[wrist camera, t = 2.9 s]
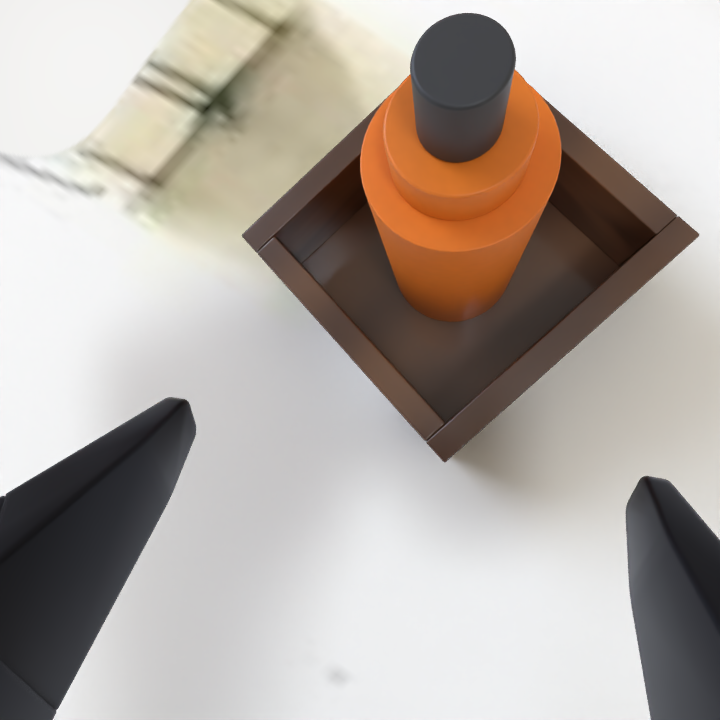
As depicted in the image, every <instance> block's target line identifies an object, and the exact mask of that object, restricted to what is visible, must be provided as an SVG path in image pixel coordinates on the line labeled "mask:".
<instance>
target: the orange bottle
mask: <svg viewBox="0 0 720 720" xmlns="http://www.w3.org/2000/svg"><path fill="white" fill-rule="evenodd" d="M515 62H516V54H515V48H514V45H513V42H512V40H511V38H510V36H509V34H508V33H507V31H506V30H505V29H504V28H503V27H502V26H501V25H500V24H499V23H498V22H496V21H495V20H493V19H491V18H489V17H487V16H484V15H480V14H474V13H462V14H456V15H452V16H449V17H446V18H444V19H442V20H440V21H438V22H437V23H435V24H434V25H432V26H431V27H430V28H429V29H428V30H427V31H426V32H425V33H424V34H423V35H422V36H421V38H420V39H419V41H418V43H417V44H416V46H415V48H414V51H413V54H412V57H411V64H410V72H411V74H410V75H409V76H408V77H407V78H406V79H405V80H404V81H403V82H402V83H401V85H400V86H399V87H398V89H396V90H395V91H394V92H393V93H392V94H391V95H390V96H389V97H388V98H387V99H386V100H385V101H384V102H383V103H382V105H381V106H380V108H379V109H378V110H377V112H376V113H375V115H374V117H373V118H372V120H371V122H370V124H369V126H368V129H367V131H366V134H365V136H364V140H363V144H362V149H361V157H360V172H361V179H362V184H363V188H364V191H365V195H366V197H367V200H368V203H369V206H370V208H371V211H372V214H373V217H374V220H375V222H376V225H377V228H378V231H379V234H380V236H381V239H382V242H383V245H384V248H385V250H386V253H387V256H388V259H389V261H390V264H391V267H392V270H393V273H394V275H395V278H396V281H397V284H398V286H399V289H400V291H401V293H402V295H403V296H404V298H405V299H406V300H407V302H408V303H409V304H410V305H411V306H412V307H413V308H414V309H416V310H417V311H418V312H420V313H421V314H423V315H425V316H427V317H429V318H432V319H435V320H439V321H446V322H458V321H464V320H468V319H472V318H474V317H477V316H479V315H481V314H482V313H484V312H486V311H487V310H489V309H490V308H491V307H492V306H493V305H494V304H495V303H496V302H497V301H498V300H499V299H500V298H501V296H502V295H503V293H504V291H505V290H506V288H507V286H508V284H509V282H510V279H511V277H512V275H513V273H514V271H515V269H516V267H517V265H518V263H519V261H520V259H521V256H522V254H523V252H524V250H525V248H526V246H527V244H528V242H529V240H530V238H531V235H532V233H533V231H534V229H535V227H536V225H537V223H538V221H539V219H540V217H541V215H542V212H543V210H544V208H545V206H546V204H547V202H548V200H549V198H550V196H551V194H552V192H553V189H554V186H555V184H556V181H557V178H558V174H559V170H560V165H561V139H560V134H559V130H558V126H557V124H556V121H555V118H554V116H553V114H552V112H551V110H550V108H549V107H548V105H547V104H546V102H545V101H544V99H543V98H542V97H541V95H540V94H539V93H538V92H537V91H536V90H535V89H534V88H533V87H532V86H530V85H529V84H528V83H527V82H526V81H525V80H524V78H523V77H522V76H521V75H520V74H519V73H518V72H517V71H516V70H515Z"/></svg>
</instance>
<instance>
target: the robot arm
mask: <svg viewBox="0 0 720 720" xmlns="http://www.w3.org/2000/svg"><path fill="white" fill-rule="evenodd" d="M195 435H196V424H195V421H194V417H193V414H192V411H191V407H190V404H189V402H188V401H187V400H185V399H179V398H173V397H169V398H166V399H164V400H162V401H160V402H159V403H157V404H155V405H154V406H152V407H150V408H149V409H147V410H145V411H144V412H142V413H140V414H139V415H137V416H135V417H134V418H132V419H130V420H129V421H127V422H125V423H124V424H122V425H120V426H119V427H117V428H115V429H114V430H112V431H110V432H109V433H107V434H105V435H104V436H102V437H100V438H99V439H97V440H95V441H94V442H92V443H90V444H89V445H87V446H85V447H84V448H82V449H80V450H78V451H77V452H75V453H73V454H72V455H70V456H68V457H67V458H65V459H63V460H62V461H60V462H58V463H57V464H55V465H53V466H52V467H50V468H48V469H47V470H45V471H43V472H42V473H40V474H38V475H37V476H35V477H33V478H32V479H30V480H28V481H27V482H25V483H23V484H22V485H20V486H18V487H17V488H15V489H13V490H12V491H10V492H8V493H7V494H6V496H1V497H0V720H53V718H54V716H55V714H56V710H57V709H58V708H59V706H60V704H61V702H62V700H63V698H64V697H65V695H66V693H67V691H68V689H69V687H70V685H71V683H72V682H73V680H74V678H75V676H76V674H77V672H78V670H79V668H80V667H81V665H82V663H83V661H84V659H85V657H86V655H87V653H88V652H89V650H90V648H91V646H92V644H93V642H94V640H95V638H96V637H97V635H98V633H99V631H100V629H101V627H102V625H103V623H104V622H105V620H106V618H107V616H108V614H109V612H110V610H111V609H112V607H113V605H114V603H115V601H116V599H117V597H118V595H119V594H120V592H121V590H122V588H123V586H124V584H125V582H126V580H127V579H128V577H129V575H130V573H131V571H132V569H133V567H134V565H135V564H136V562H137V560H138V558H139V556H140V554H141V552H142V550H143V549H144V547H145V545H146V543H147V541H148V539H149V537H150V536H151V534H152V532H153V530H154V528H155V526H156V524H157V522H158V521H159V519H160V517H161V515H162V513H163V511H164V509H165V507H166V505H167V503H168V501H169V499H170V497H171V495H172V493H173V490H174V488H175V485H176V483H177V480H178V478H179V475H180V473H181V470H182V468H183V465H184V463H185V460H186V458H187V455H188V453H189V451H190V448H191V446H192V443H193V441H194V438H195ZM626 532H627V552H628V573H629V589H630V598H631V605H632V611H633V617H634V623H635V629H636V635H637V641H638V646H639V652H640V658H641V664H642V670H643V676H644V682H645V687H646V693H647V699H648V705H649V711H650V717H651V720H720V540H719V539H718V537H717V536H716V535H715V534H714V533H713V532H712V530H711V529H710V528H709V527H708V526H707V525H706V523H705V522H704V521H703V520H702V519H701V517H700V516H699V515H698V514H697V513H696V512H695V510H694V509H693V508H692V507H691V506H690V504H689V503H688V502H687V501H686V500H685V499H684V497H683V496H682V495H681V494H680V493H679V492H678V490H677V489H676V488H675V487H674V486H673V484H672V483H671V482H669V481H668V480H666V479H662V478H655V477H649V476H644V477H642V478H641V479H640V480H639V482H638V484H637V486H636V488H635V490H634V491H633V493H632V495H631V497H630V499H629V501H628V503H627V507H626Z"/></svg>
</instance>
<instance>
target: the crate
mask: <svg viewBox="0 0 720 720" xmlns="http://www.w3.org/2000/svg"><path fill="white" fill-rule="evenodd" d="M397 89H398V88H397ZM391 94H392V93H391ZM391 94H390V95H391ZM390 95H389V96H390ZM389 96H388V97H389ZM388 97H387V98H388ZM541 97H542V96H541ZM387 98H386V99H387ZM542 98H543V97H542ZM386 99H385V100H386ZM543 99H544V98H543ZM385 100H384V101H385ZM384 101H383V102H384ZM544 101H545V102H546V104H547V105H548V107H549V108H550V110H551V112H552V114H553V116H554V118H555V121H556V124H557V126H558V130H559V134H560V139H561V165H560V170H559V174H558V178H557V181H556V184H555V186H554V189H553V192H552V194H551V196H550V198H549V200H548V202H547V204H546V206H545V208H544V210H543V212H542V215H541V217H540V219H539V221H538V223H537V225H536V227H535V229H534V231H533V233H532V235H531V238H530V240H529V242H528V244H527V246H526V248H525V250H524V252H523V254H522V256H521V259H520V261H519V263H518V265H517V267H516V269H515V271H514V273H513V275H512V277H511V279H510V282H509V284H508V286H507V288H506V290H505V291H504V293H503V295H502V296H501V298H500V299H499V300H498V301H497V302H496V303H495V304H494V305H493V306H492V307H491V308H490V309H489V310H487V311H486V312H484V313H482V314H481V315H479V316H477V317H474V318H472V319H468V320H464V321H458V322H446V321H439V320H435V319H432V318H429V317H427V316H425V315H423V314H421V313H420V312H418V311H417V310H416V309H414V308H413V307H412V306H411V305H410V304H409V303H408V302H407V300H406V299H405V298H404V296H403V295H402V293H401V291H400V289H399V286H398V284H397V281H396V278H395V275H394V273H393V270H392V267H391V264H390V261H389V259H388V256H387V253H386V250H385V248H384V245H383V242H382V239H381V236H380V234H379V231H378V228H377V225H376V222H375V220H374V217H373V214H372V211H371V208H370V206H369V203H368V200H367V197H366V195H365V191H364V188H363V184H362V179H361V172H360V157H361V149H362V144H363V140H364V136H365V134H366V131H367V129H368V126H369V124H370V122H371V120H372V118H373V117H374V115H375V113H376V112H377V110H378V109H379V108H380V106H381V105H382V103H383V102H382V103H381V104H380V105H379V106H378V107H377V108H376V109H375V110H373V111H372V112H371V113H370V114H369V115H368V116H367V117H366V118H365V119H364V120H363V121H362V122H361V123H360V124H359V125H358V126H357V127H355V128H354V129H353V130H352V131H351V132H350V133H349V134H348V135H347V136H346V137H345V138H344V139H343V140H342V141H341V142H340V143H339V144H337V145H336V146H335V147H334V148H333V149H332V150H331V151H330V152H329V153H328V154H327V155H326V156H325V157H324V158H323V159H322V160H321V161H319V162H318V163H317V164H316V165H315V166H314V167H313V168H312V169H311V170H310V171H309V172H308V173H307V174H306V175H305V176H304V177H303V178H301V179H300V180H299V181H298V182H297V183H296V184H295V185H294V186H293V187H292V188H291V189H290V190H289V191H288V192H287V193H286V194H285V195H283V196H282V197H281V198H280V199H279V200H278V201H277V202H276V203H275V204H274V205H273V206H272V207H271V208H270V209H269V210H268V211H267V212H266V213H264V214H263V215H262V216H261V217H260V218H259V219H258V220H257V221H256V222H255V223H254V224H253V225H252V226H251V227H250V228H249V229H248V230H246V231H245V232H244V233H243V234H242V237H243V238H244V239H245V240H246V241H247V243H248V244H249V245H250V246H251V247H252V248H253V249H254V250H255V252H257V253H258V255H259V256H260V257H261V258H262V259H263V260H264V262H265V263H266V264H267V265H268V266H269V267H270V268H271V269H272V270H273V272H274V273H275V274H276V275H277V276H278V277H279V278H280V279H281V281H282V282H283V283H284V284H285V285H286V286H287V287H288V288H289V289H290V291H291V292H292V293H293V294H294V295H295V296H296V297H297V298H298V300H299V301H300V302H301V303H302V304H303V305H304V306H305V307H306V309H307V310H308V311H309V312H310V313H311V314H312V315H313V316H314V317H315V319H316V320H317V321H318V322H319V323H320V324H321V325H322V326H323V328H324V329H325V330H326V331H327V332H328V333H329V334H330V335H331V336H332V338H333V339H334V340H335V341H336V342H337V343H338V344H339V345H340V347H341V348H342V349H343V350H344V351H345V352H346V353H347V354H348V355H349V357H350V358H351V359H352V360H353V361H354V362H355V363H356V364H357V366H358V367H359V368H360V369H361V370H362V371H363V372H364V373H365V374H366V376H367V377H368V378H369V379H370V380H371V381H372V382H373V383H374V385H375V386H376V387H377V388H378V389H379V390H380V391H381V392H382V394H383V395H384V396H385V397H386V398H387V399H388V400H389V401H390V402H391V404H392V405H393V406H394V407H395V408H396V409H397V410H398V411H399V413H400V414H401V415H402V416H403V417H404V418H405V419H406V420H407V421H408V423H409V424H410V425H411V426H412V427H413V428H414V429H415V430H416V432H417V433H418V434H419V435H420V436H421V437H422V438H423V439H424V440H425V441H427V444H428V445H429V446H430V447H431V448H432V450H433V451H434V452H435V453H436V454H437V455H438V456H439V457H440V458H441V460H442V461H443V462H446V461H447V460H449V459H450V458H451V457H452V456H453V455H454V454H455V453H456V452H458V451H459V450H460V449H461V448H462V447H463V446H464V445H465V444H467V443H468V442H469V441H470V440H471V439H472V438H473V437H474V436H476V435H477V434H478V433H479V432H480V431H481V430H482V429H483V428H484V427H486V426H487V425H488V424H489V423H490V422H491V421H492V420H493V419H495V418H496V417H497V416H498V415H499V414H500V413H501V412H502V411H504V410H505V409H506V408H507V407H508V406H509V405H510V404H511V403H513V402H514V401H515V400H516V399H517V398H518V397H519V396H520V395H521V394H523V393H524V392H525V391H526V390H527V389H528V388H529V387H530V386H532V385H533V384H534V383H535V382H536V381H537V380H538V379H539V378H541V377H542V376H543V375H544V374H545V373H546V372H547V371H548V370H550V369H551V368H552V367H553V366H554V365H555V364H556V363H557V362H558V361H560V360H561V359H562V358H563V357H564V356H565V355H566V354H567V353H569V352H570V351H571V350H572V349H573V348H574V347H575V346H576V345H578V344H579V343H580V342H581V341H582V340H583V339H584V338H585V337H586V336H588V335H589V334H590V333H591V332H592V331H593V330H594V329H595V328H597V327H598V326H599V325H600V324H601V323H602V322H603V321H604V320H606V319H607V318H608V317H609V316H610V315H611V314H612V313H613V312H615V311H616V310H617V309H618V308H619V307H620V306H621V305H622V304H623V303H625V302H626V301H627V300H628V299H629V298H630V297H631V296H632V295H634V294H635V293H636V292H637V291H638V290H639V289H640V288H641V287H643V286H644V285H645V284H646V283H647V282H648V281H649V280H650V279H652V278H653V277H654V276H655V275H656V274H657V273H658V272H659V271H660V270H662V269H663V268H664V267H665V266H666V265H667V264H668V263H669V262H671V261H672V260H673V259H674V258H675V257H676V256H677V255H678V254H680V253H681V252H682V251H683V250H684V249H685V248H686V247H687V246H689V245H690V244H691V243H692V242H693V241H694V240H695V239H696V238H697V237H699V234H698V233H697V232H696V231H695V230H694V229H693V228H691V227H690V226H689V225H688V224H687V223H686V222H685V221H683V220H682V219H681V218H680V217H677V215H676V214H675V213H674V212H673V211H672V210H671V209H670V208H668V207H667V206H666V205H665V204H664V203H663V202H662V201H660V200H659V199H658V198H657V197H656V196H655V195H654V194H652V193H651V192H650V191H649V190H648V189H647V188H646V187H644V186H643V185H642V184H641V183H640V182H639V181H638V180H636V179H635V178H634V177H633V176H632V175H631V174H630V173H628V172H627V171H626V170H625V169H624V168H623V167H622V166H620V165H619V164H618V163H617V162H616V161H615V160H614V159H612V158H611V157H610V156H609V155H608V154H607V153H606V152H605V151H603V150H602V149H601V148H600V147H599V146H598V145H597V144H595V143H594V142H593V141H592V140H591V139H590V138H589V137H587V136H586V135H585V134H584V133H583V132H582V131H581V130H579V129H578V128H577V127H576V126H575V125H574V124H573V123H571V122H570V121H569V120H568V119H567V118H566V117H565V116H563V115H562V114H561V113H560V112H559V111H558V110H557V109H555V108H554V107H553V106H552V105H551V104H550V103H549V102H547V101H546V100H545V99H544Z"/></svg>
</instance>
